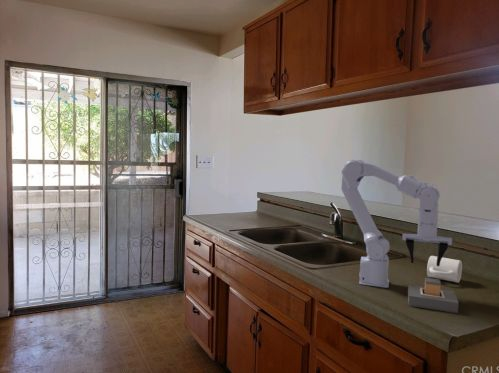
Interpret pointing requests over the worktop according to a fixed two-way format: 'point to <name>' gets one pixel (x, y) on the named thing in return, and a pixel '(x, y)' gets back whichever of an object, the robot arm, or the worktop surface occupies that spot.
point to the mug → (444, 269)
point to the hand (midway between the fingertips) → (424, 263)
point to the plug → (432, 287)
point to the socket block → (432, 299)
